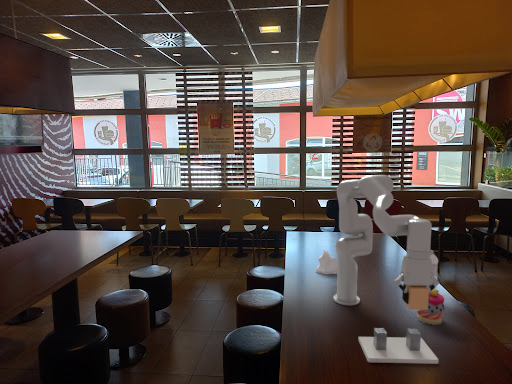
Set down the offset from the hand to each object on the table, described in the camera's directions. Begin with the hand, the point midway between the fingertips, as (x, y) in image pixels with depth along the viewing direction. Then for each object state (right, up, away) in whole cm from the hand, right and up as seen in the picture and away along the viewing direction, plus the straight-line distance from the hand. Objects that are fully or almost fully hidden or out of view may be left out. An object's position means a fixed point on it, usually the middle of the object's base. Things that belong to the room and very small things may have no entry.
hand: (415, 301), depth 126 cm
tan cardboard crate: (0, -1, 0) cm, 1 cm away
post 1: (-12, -19, +3) cm, 23 cm away
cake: (+18, -16, +26) cm, 36 cm away
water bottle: (+27, -14, +46) cm, 55 cm away
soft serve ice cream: (-14, -9, +86) cm, 87 cm away
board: (-6, -19, +3) cm, 20 cm away
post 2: (0, -19, +2) cm, 19 cm away
